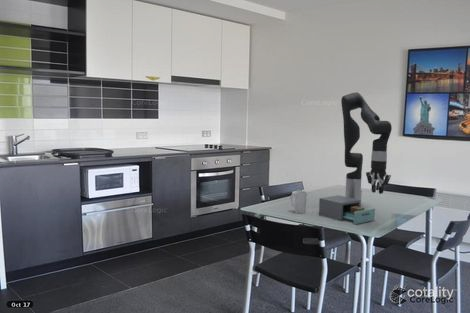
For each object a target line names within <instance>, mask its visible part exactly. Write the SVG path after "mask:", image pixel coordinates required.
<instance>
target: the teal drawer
mask: <svg viewBox="0 0 470 313" xmlns="http://www.w3.org/2000/svg"><path fill="white" fill-rule="evenodd" d="M375 212H376V208H369V209H364V210H362V211H357V212H354V215H351V212H350V211H348V212H343V218H346V219H347V220H351V221H353V224H354V225H358V224H363V223H367V222H371V221H375V215H376V214H375Z"/></svg>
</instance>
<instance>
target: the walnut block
mask: <svg viewBox="0 0 470 313" xmlns="http://www.w3.org/2000/svg"><path fill="white" fill-rule="evenodd" d="M362 210H366V209H365V207H362V206H360V207H358V206H356V207H351V215H354V212H357V211H362Z"/></svg>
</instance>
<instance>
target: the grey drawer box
mask: <svg viewBox="0 0 470 313" xmlns="http://www.w3.org/2000/svg"><path fill="white" fill-rule="evenodd" d="M318 201H319V205H318V206H319V207H318V208H319V209H318V216H323V217H325V216H326V218H329V217H330V218H329V219H333V220H336V219H337V221H341V222H342V221H346V220H348V219H346V218H343V212H348V211H350V212H351V207H356V206H358V207H362V206H361V205H362V199H361V200H358V199H353V198H349V197H345V196H343V195H339V194H337V195H333V196H332V195H331V196H325V197H319V200H318Z"/></svg>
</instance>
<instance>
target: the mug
mask: <svg viewBox="0 0 470 313" xmlns="http://www.w3.org/2000/svg"><path fill="white" fill-rule="evenodd" d="M307 194H308V191H305V190H296V191H294V192H291V195H290V198H289V199H290V204H291V206H292V207H294V212H295V213H297V214H305V213H306V211H307ZM293 197H294V200H293Z"/></svg>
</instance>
